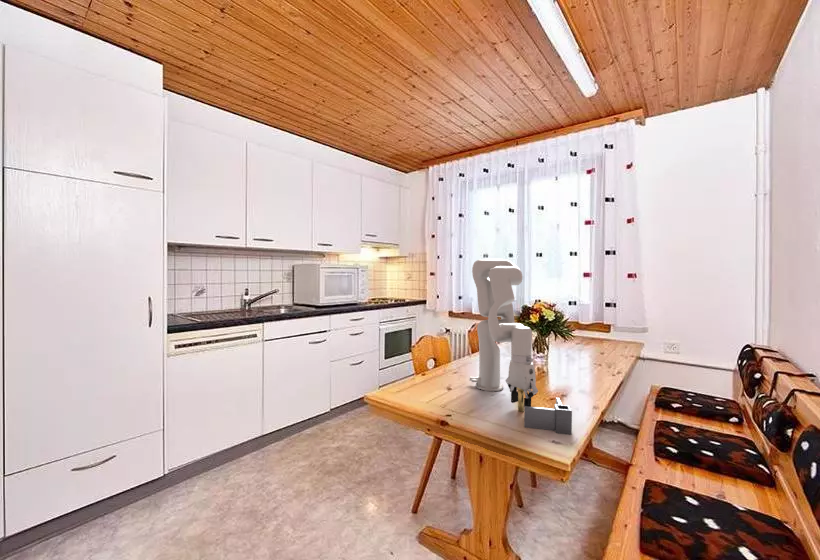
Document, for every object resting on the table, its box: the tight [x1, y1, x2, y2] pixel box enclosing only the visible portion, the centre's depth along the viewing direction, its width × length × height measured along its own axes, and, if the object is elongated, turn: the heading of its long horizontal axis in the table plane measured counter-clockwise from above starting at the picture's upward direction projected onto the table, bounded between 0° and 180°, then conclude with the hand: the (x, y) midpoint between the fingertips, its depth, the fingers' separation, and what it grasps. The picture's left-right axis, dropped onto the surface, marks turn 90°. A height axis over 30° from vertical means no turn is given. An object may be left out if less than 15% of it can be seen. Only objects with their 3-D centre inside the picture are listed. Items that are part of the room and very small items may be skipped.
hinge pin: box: [516, 387, 525, 413], centre depth 137 cm, size 3×3×10 cm
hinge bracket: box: [523, 397, 573, 435], centre depth 126 cm, size 15×15×8 cm
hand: (520, 404), depth 137 cm, fingers open, 5 cm apart
